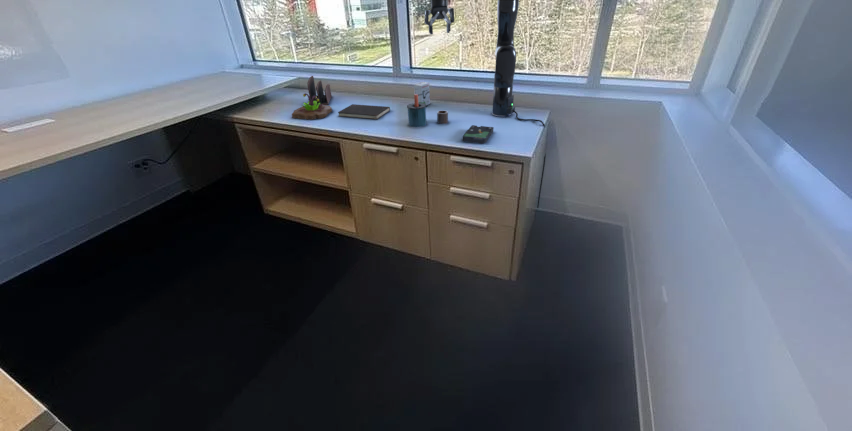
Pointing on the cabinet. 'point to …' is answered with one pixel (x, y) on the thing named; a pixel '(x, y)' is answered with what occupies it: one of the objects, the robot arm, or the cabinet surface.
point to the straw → (416, 100)
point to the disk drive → (477, 134)
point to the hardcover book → (364, 111)
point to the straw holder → (442, 117)
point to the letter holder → (319, 92)
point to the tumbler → (417, 117)
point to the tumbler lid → (416, 107)
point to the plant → (311, 110)
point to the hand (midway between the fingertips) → (439, 33)
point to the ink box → (422, 92)
